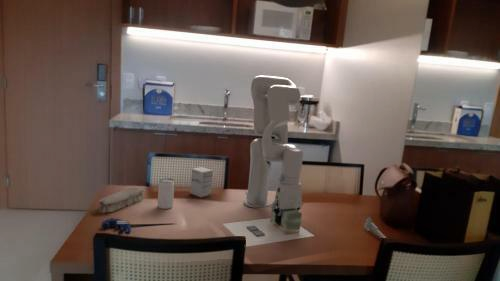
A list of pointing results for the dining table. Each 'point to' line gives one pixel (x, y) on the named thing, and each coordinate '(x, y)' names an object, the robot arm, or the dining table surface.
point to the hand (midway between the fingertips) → (284, 222)
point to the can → (165, 193)
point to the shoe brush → (120, 199)
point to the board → (267, 228)
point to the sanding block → (288, 221)
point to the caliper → (372, 228)
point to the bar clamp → (123, 224)
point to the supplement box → (201, 181)
